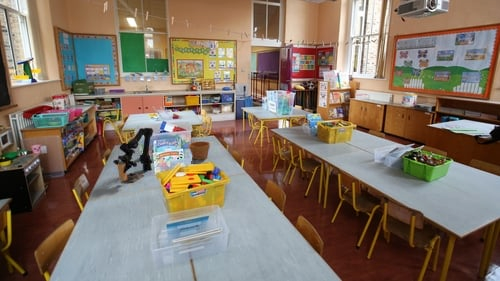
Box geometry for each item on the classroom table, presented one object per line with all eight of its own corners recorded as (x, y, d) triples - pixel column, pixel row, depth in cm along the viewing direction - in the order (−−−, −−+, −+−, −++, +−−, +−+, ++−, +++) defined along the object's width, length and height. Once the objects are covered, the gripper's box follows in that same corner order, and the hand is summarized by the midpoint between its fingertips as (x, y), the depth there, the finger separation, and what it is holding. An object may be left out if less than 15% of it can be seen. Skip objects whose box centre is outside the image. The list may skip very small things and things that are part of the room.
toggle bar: (123, 178, 231) (120, 160, 227) (127, 179, 230) (124, 161, 226) (119, 180, 227) (117, 162, 223) (124, 181, 226) (121, 162, 222)
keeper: (132, 174, 249) (132, 170, 248) (143, 175, 246) (143, 171, 245) (122, 181, 235) (121, 176, 234) (133, 182, 233) (132, 177, 232)
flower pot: (190, 154, 301) (190, 141, 297) (210, 153, 303) (210, 140, 299) (189, 161, 281) (187, 147, 277) (210, 160, 283) (209, 146, 279)
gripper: (112, 150, 228) (105, 168, 221) (133, 151, 224) (125, 169, 217) (120, 156, 238) (113, 173, 230) (140, 157, 233) (133, 175, 226)
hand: (121, 172), depth 226 cm, fingers closed on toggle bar, 4 cm apart
